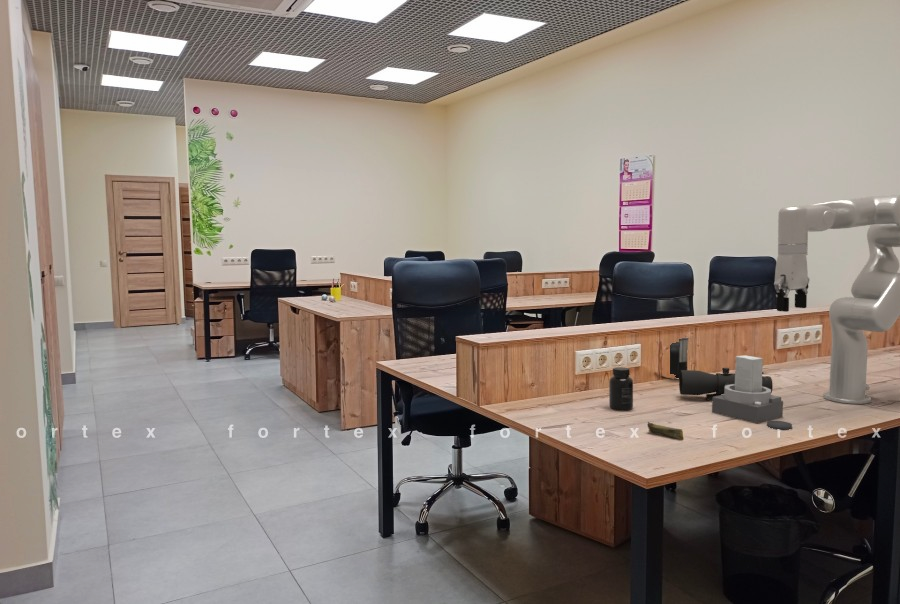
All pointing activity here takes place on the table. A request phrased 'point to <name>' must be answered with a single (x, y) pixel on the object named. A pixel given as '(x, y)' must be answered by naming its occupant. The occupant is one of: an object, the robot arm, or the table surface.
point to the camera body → (748, 405)
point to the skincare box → (748, 374)
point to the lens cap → (779, 425)
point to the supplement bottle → (621, 390)
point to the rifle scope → (710, 382)
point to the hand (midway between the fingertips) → (791, 309)
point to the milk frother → (678, 356)
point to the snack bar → (665, 431)
